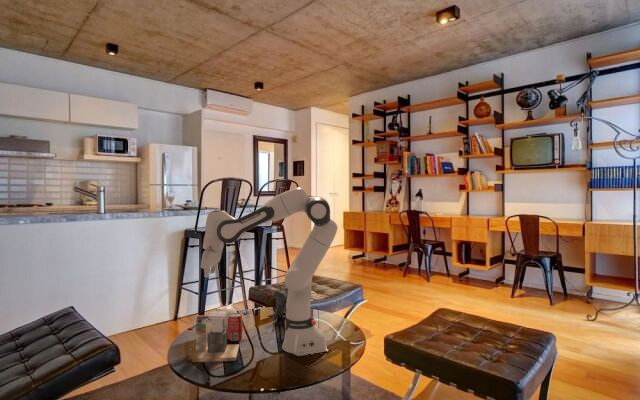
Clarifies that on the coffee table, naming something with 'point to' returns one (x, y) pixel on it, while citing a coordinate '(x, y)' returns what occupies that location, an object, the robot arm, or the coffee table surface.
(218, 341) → the stand
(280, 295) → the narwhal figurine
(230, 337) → the soda can
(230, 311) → the cat head
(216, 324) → the boxy square bracket
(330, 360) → the coffee table surface
